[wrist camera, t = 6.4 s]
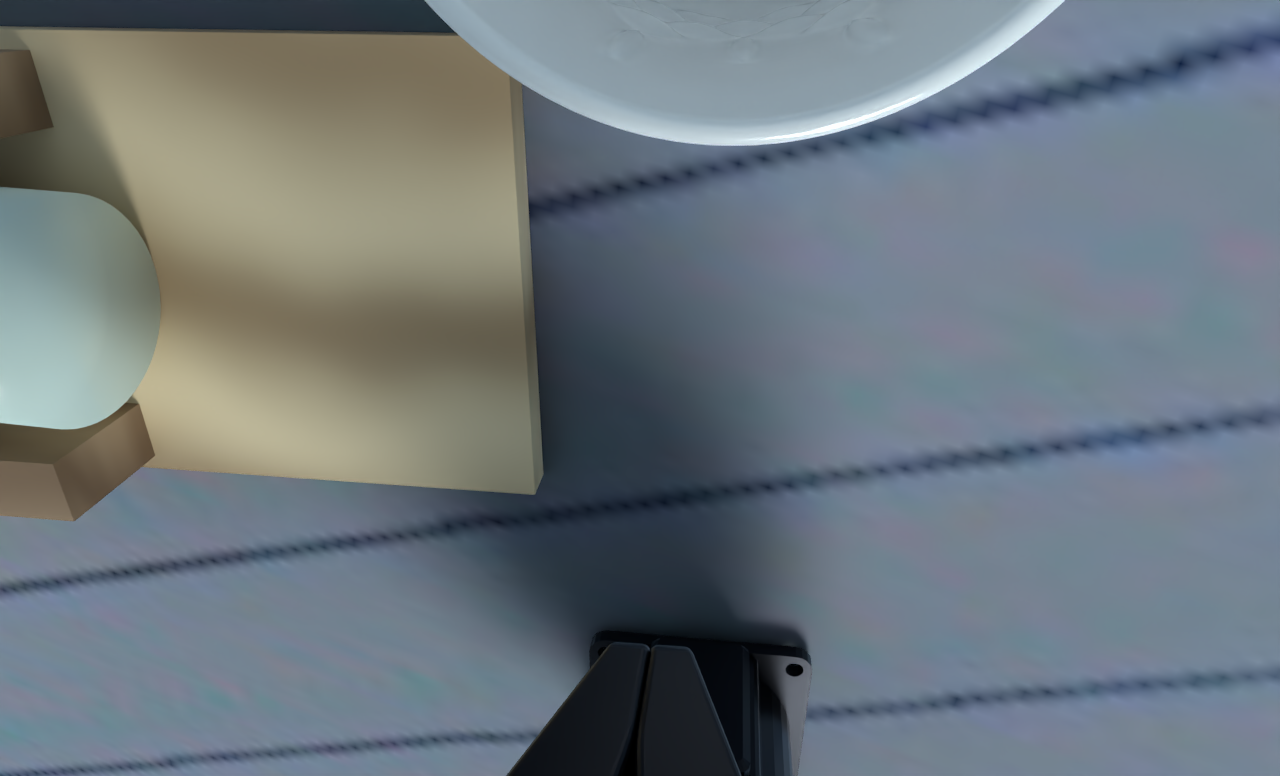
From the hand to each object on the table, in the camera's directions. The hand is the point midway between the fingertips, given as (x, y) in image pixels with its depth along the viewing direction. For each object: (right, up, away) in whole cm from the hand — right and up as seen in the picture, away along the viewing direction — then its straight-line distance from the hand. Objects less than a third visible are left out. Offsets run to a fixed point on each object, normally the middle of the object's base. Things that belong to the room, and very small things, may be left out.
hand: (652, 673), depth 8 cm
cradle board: (-14, +6, +12) cm, 20 cm away
